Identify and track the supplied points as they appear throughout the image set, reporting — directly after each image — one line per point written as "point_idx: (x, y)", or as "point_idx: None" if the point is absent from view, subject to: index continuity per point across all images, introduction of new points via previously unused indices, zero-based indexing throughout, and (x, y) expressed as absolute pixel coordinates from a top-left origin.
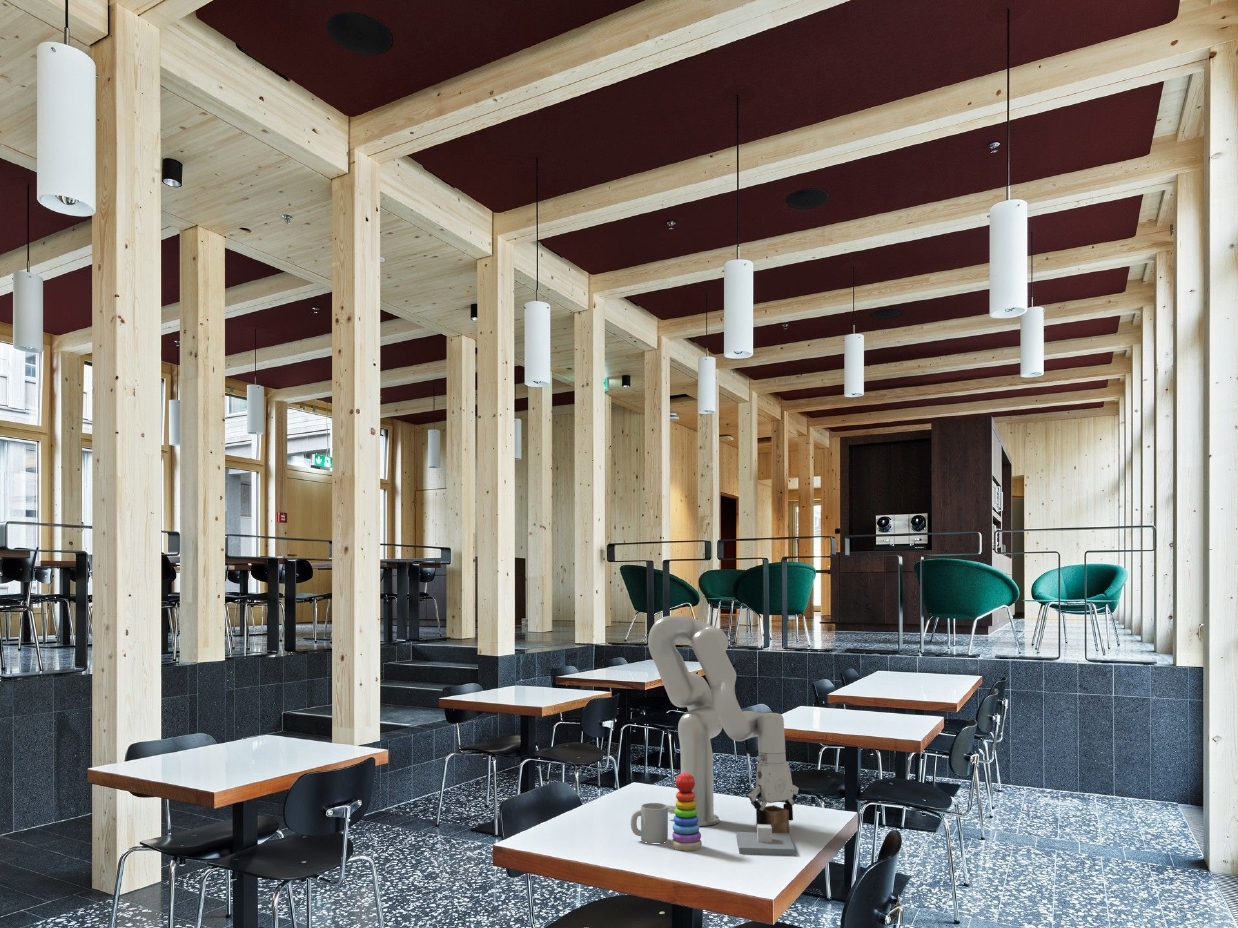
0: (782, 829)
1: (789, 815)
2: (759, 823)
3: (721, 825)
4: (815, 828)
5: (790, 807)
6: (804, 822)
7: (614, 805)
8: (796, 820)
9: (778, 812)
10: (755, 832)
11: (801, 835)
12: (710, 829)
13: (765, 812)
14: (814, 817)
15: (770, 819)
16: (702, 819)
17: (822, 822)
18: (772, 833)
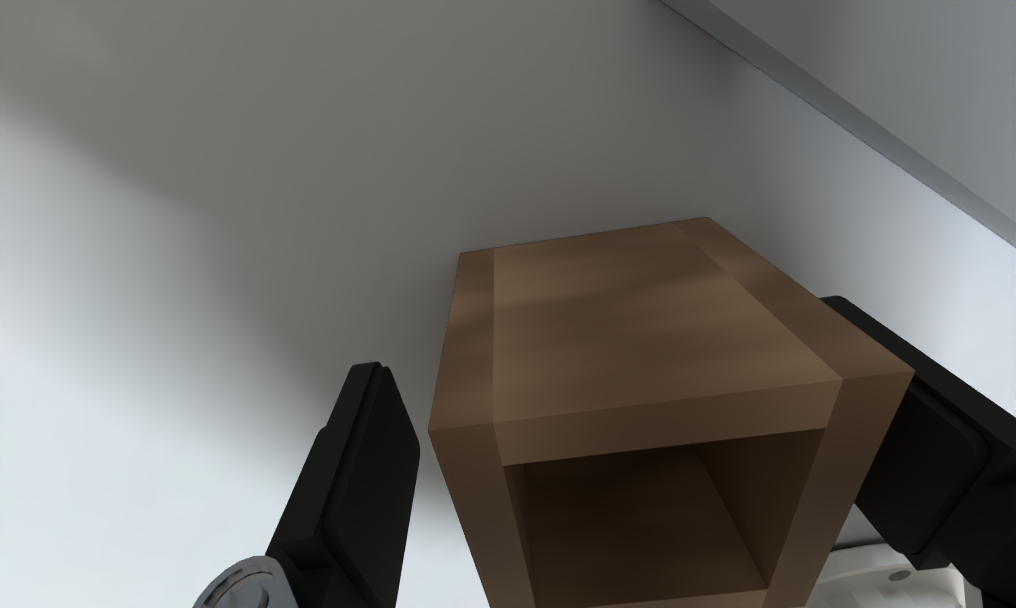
0: (557, 257)
1: (383, 417)
2: None
3: None
4: (115, 294)
5: (335, 510)
6: (184, 459)
7: None
8: (236, 505)
9: (693, 384)
10: (994, 204)
11: (378, 96)
12: None
13: (949, 420)
14: (68, 526)
15: (815, 310)
16: (919, 593)
17: (9, 425)
18: (869, 77)
